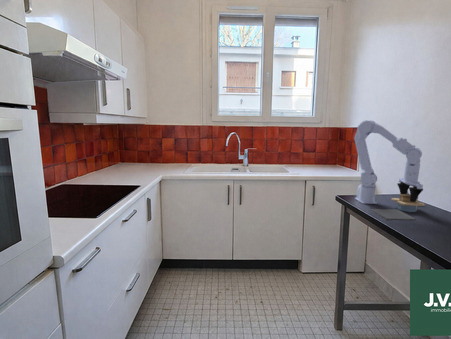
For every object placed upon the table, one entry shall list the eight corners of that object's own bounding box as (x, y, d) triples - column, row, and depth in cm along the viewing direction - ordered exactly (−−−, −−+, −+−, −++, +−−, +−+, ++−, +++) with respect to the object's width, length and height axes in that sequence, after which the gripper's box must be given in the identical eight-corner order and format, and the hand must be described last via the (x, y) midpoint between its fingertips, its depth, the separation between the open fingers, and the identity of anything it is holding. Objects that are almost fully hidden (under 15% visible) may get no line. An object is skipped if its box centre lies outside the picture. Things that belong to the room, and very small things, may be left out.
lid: (391, 199, 137) (392, 192, 136) (410, 199, 137) (411, 192, 136) (404, 205, 127) (405, 197, 126) (424, 205, 127) (426, 197, 126)
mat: (371, 209, 131) (371, 209, 131) (397, 210, 131) (397, 209, 131) (386, 219, 118) (386, 218, 118) (415, 219, 118) (415, 218, 118)
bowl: (393, 206, 136) (394, 200, 136) (409, 206, 136) (410, 200, 136) (403, 211, 129) (404, 205, 128) (420, 212, 128) (421, 205, 128)
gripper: (431, 175, 122) (426, 203, 124) (409, 170, 136) (406, 195, 139) (415, 175, 122) (411, 203, 124) (396, 170, 136) (392, 195, 139)
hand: (407, 199), depth 132 cm, fingers open, 7 cm apart
